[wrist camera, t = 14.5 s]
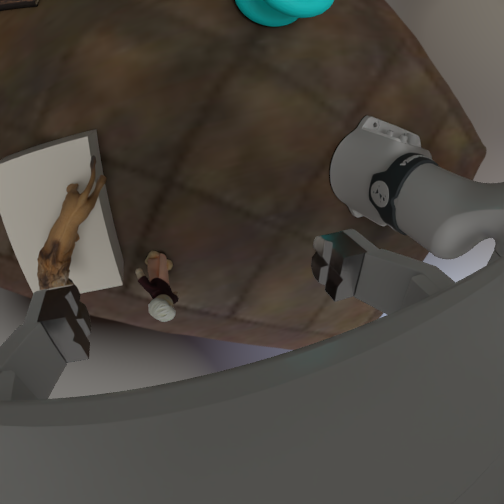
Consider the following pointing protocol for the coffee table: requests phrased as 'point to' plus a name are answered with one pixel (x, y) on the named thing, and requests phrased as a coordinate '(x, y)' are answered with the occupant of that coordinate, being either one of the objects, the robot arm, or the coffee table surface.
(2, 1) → the hardcover book
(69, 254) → the lion figurine
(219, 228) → the coffee table surface
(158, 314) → the grandmother figurine
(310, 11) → the donuts
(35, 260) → the pedestal
